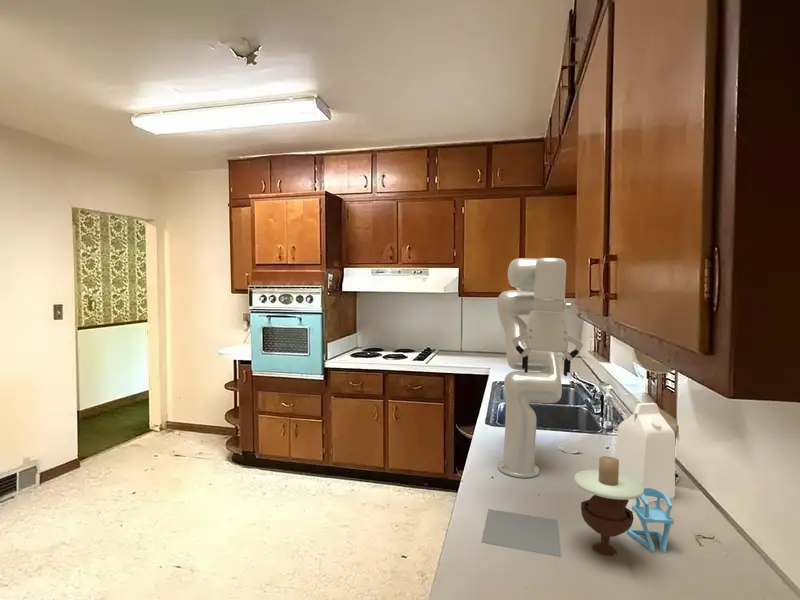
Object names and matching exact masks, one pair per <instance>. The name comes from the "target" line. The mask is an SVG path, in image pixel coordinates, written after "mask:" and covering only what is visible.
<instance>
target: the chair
mask: <svg viewBox="0 0 800 600" xmlns="http://www.w3.org/2000/svg"><path fill="white" fill-rule="evenodd" d="M645 496H652V497H656V498H657V502H655V506H650V503H648V501H647V499H646V497H645ZM639 498H640V499H641V500H642V502H643V503H644V504H643V505H641V503H640V500H639ZM639 498H636V500H635V501H636V503H635V504H634V505H631V510H633V513H635V515H637V518H638V519H639V521H640V524H641V527H642V528H643V529H634V528H632V529H631V528H630V529H629V530H627V531H626V534H627V535H628V536H630V537H631V538H633V539H634V540H635V541H637V542H638V543H639V544H640V545H642V546H644V547H645V548H646V549H648V551H650V552H651V553H655V551H656V548H655V544H654V541H653V538H652V537H651V536H657V540H658V545H659V549H660V551H661V552H662V553H665V554H666V553H667V546H668V540H669V535H670V531H671V527H672V525H674V523H675V522H674V521H675V520H674V519H673V518H672V517H671V511H672V508H673V504H672V502H671V501H672V500H670V498H669V497H668V496H667V495H666V494H664V493H662V492H660V491H658V490H655V489H652V488H644V493H643V495H642V496H641V497H639ZM661 498H663V499H664V500H665V503H666V505H667V509H666V511H664V510H663V509H662V508H661V501H660V499H661ZM651 523H653V524H654V523H656V524H657V523H660V524H663V527H664V528H663V532H661V531H659V530H652V529H651V530H650V529H649V528H648V525H647V524H651ZM662 533H663V534H662ZM640 535H645V537H646V539H644V538H643V537H642V536H640Z"/></svg>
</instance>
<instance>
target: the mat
mask: <svg viewBox="0 0 800 600" xmlns="http://www.w3.org/2000/svg"><path fill="white" fill-rule="evenodd" d="M484 523H485V524H484V528H483V534H482V537H481V538H482V539H481V542H480V543H481V544H487V545H493V546H497V547H503V548H510V549H514V550H518V551H519V550H520V551H524V552H525V551H526V552H532V553H536V554H544V555H549V556H553V557H559V558H561V557H562V552H561V542H560V541H561V540H560V532H559V531H560V530H559V521H558V519H554V518H553V519H552V518H546V517H540V516H534V515H529V514H522V513H516V512H510V511H504V510H499V509H498V510H497V509H492V508H488V511H487V515H486V520H485V522H484Z"/></svg>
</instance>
